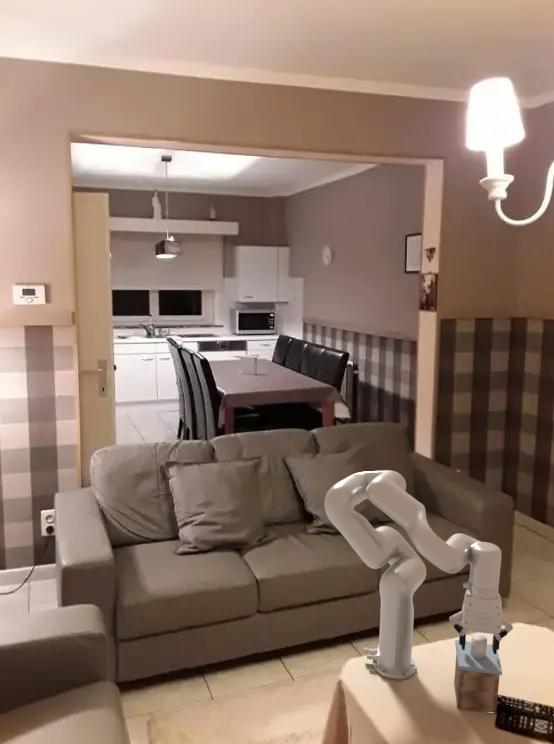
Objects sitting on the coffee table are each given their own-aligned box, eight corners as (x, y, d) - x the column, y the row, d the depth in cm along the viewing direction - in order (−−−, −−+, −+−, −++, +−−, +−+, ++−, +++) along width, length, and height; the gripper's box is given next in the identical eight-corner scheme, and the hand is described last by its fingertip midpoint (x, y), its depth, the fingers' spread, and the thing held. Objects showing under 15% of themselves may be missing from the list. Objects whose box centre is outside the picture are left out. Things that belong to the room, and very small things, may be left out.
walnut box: (457, 708, 172) (460, 668, 170) (454, 682, 183) (457, 644, 181) (495, 714, 170) (499, 673, 168) (490, 687, 181) (494, 649, 179)
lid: (458, 671, 170) (460, 648, 169) (455, 645, 182) (456, 623, 180) (501, 677, 168) (503, 654, 167) (495, 650, 179) (497, 628, 178)
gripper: (450, 592, 169) (446, 652, 172) (520, 600, 166) (514, 662, 169) (449, 578, 176) (444, 637, 179) (515, 586, 173) (509, 645, 176)
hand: (478, 648), depth 174 cm, fingers open, 7 cm apart
